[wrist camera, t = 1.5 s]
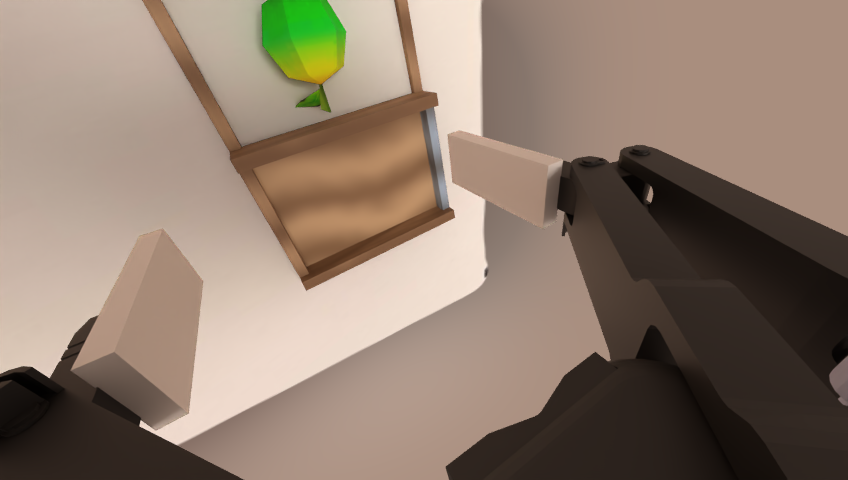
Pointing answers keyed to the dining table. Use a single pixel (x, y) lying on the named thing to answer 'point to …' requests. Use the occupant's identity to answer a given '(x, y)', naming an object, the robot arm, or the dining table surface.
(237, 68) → the dining table surface
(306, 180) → the frame
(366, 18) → the dining table surface
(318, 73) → the apple
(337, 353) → the dining table surface
